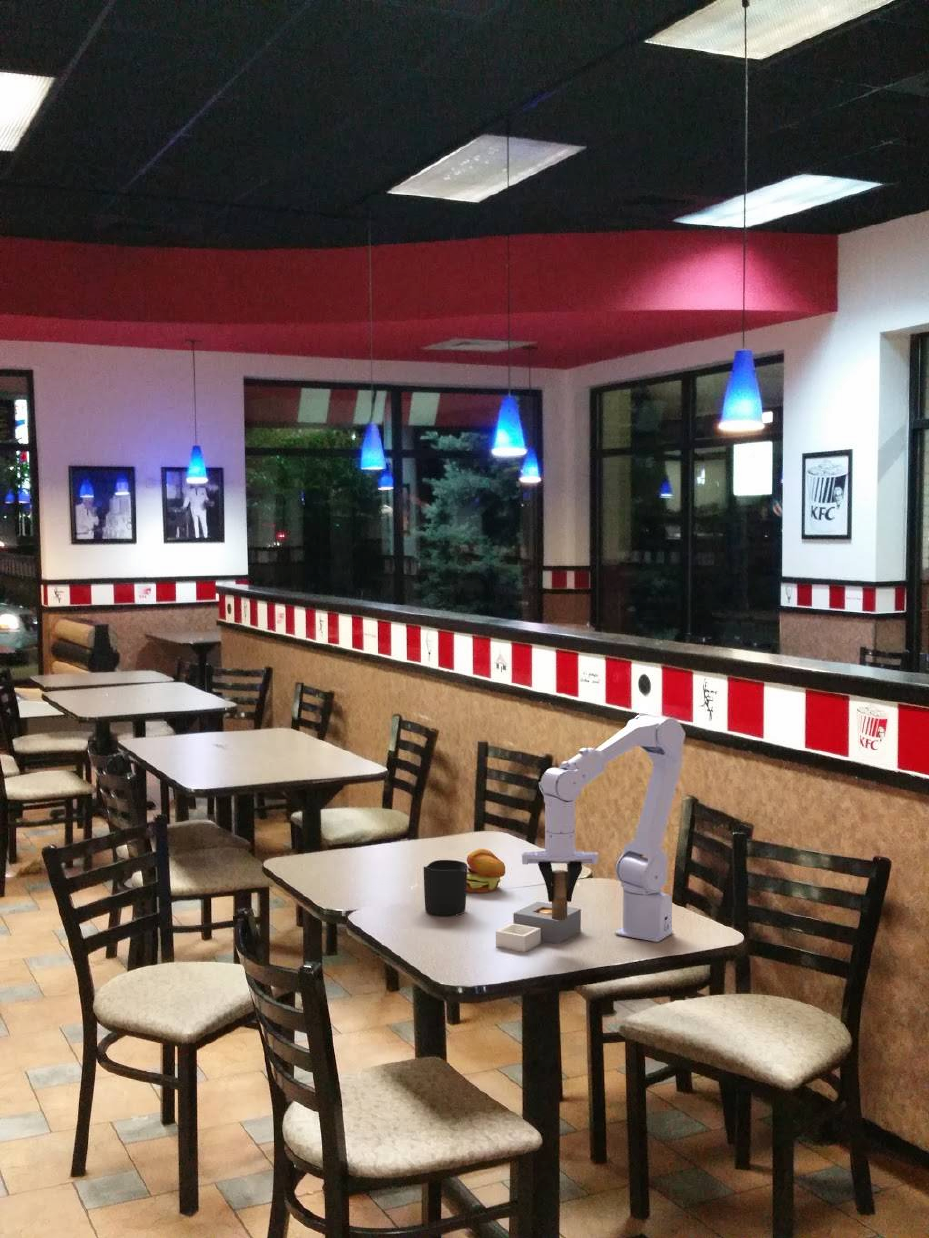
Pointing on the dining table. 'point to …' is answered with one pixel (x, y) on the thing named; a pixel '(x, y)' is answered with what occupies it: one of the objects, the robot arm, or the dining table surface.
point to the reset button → (546, 912)
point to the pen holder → (445, 887)
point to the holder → (518, 937)
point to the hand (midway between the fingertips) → (559, 900)
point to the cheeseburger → (483, 871)
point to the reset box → (549, 922)
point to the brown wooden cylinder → (559, 894)
